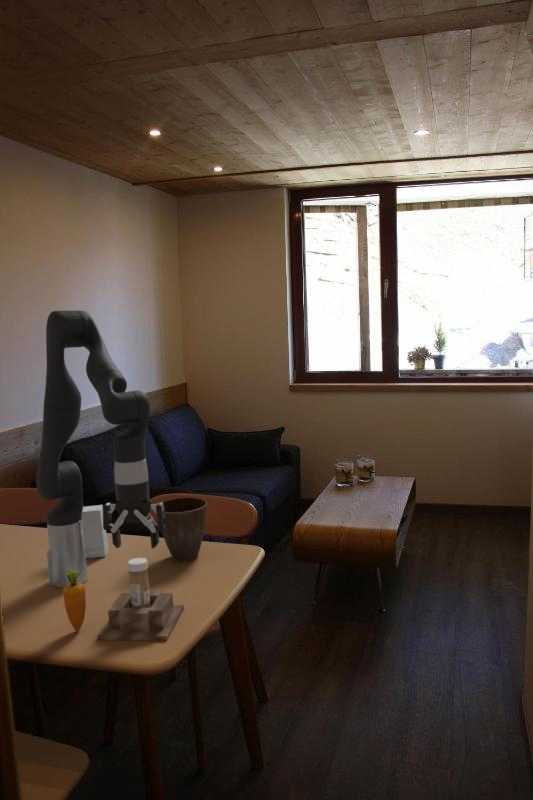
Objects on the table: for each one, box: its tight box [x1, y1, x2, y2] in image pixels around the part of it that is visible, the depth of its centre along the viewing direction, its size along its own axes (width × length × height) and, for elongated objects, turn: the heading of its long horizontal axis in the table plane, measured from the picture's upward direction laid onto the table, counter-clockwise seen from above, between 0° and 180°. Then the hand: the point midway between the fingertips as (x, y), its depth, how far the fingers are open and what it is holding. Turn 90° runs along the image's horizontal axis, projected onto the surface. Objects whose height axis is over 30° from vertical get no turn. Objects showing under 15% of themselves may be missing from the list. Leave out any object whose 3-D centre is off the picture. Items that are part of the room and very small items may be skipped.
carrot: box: [62, 569, 87, 632], centre depth 161 cm, size 5×5×15 cm
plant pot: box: [160, 497, 208, 562], centre depth 205 cm, size 15×15×16 cm
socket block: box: [97, 589, 185, 641], centre depth 163 cm, size 16×16×6 cm
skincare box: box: [82, 504, 109, 559], centre depth 211 cm, size 8×6×15 cm
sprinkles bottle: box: [127, 557, 150, 608], centre depth 163 cm, size 5×5×14 cm
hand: (136, 547), depth 161 cm, fingers open, 8 cm apart
